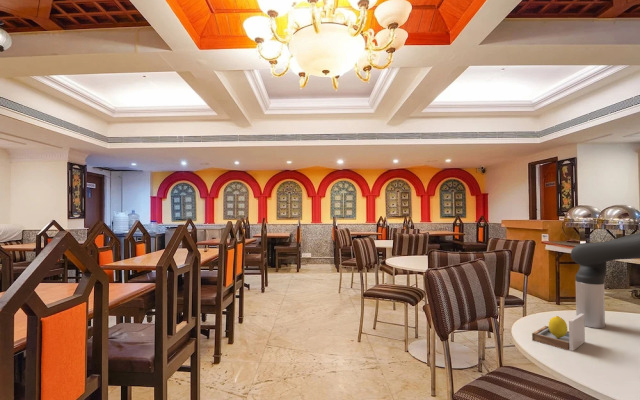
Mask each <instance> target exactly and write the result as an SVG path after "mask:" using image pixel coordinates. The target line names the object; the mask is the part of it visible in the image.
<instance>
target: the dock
mask: <svg viewBox="0 0 640 400" xmlns="http://www.w3.org/2000/svg"><path fill="white" fill-rule="evenodd" d="M547 328H549V325H548V326H547V325H545V326H543V327H541V328H539V329H538V330H535V331H534V332H532V333H531V336H532V337H531V340H532V341H534V342H538V343H541V344H545V345H550V346H552V347H555V348H558V349H559V348H560V349H563V350H565V351H570V349H569V342H566V341H562V340H558V339H554V338H550V337H547V336H543V335H539V334H538V333H540V332H542V331H543V330H545V329H547ZM567 333H569V330H567Z"/></svg>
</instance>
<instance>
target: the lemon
mask: <svg viewBox="0 0 640 400" xmlns="http://www.w3.org/2000/svg"><path fill="white" fill-rule="evenodd" d="M548 327H549V330H550V332H551V333H552V334H553V335H554V336H556V337H557V338H560V337H563V336H565V335H566V333H567V331H568V324H567V323H566V321H565V319H564V318H562V317H560V316H559V315H556V316H553V317H551V318H550V319H549V321H548Z"/></svg>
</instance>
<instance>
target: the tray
mask: <svg viewBox="0 0 640 400" xmlns="http://www.w3.org/2000/svg"><path fill="white" fill-rule="evenodd" d="M585 327H586V326H585V324H584V314H582V313H581V314H579V315H577V316H576V315H575V316H574V317H572V318H571V319H569V320H568V331H569V333H566V335H565V336H563V337H560V338H557V337H556V336H554V335H553V334H552V333H551V332H550V330H549V328H547V329H545V330H543V331H542V332H540V333H538V334H539V335H543V336H547V337H550V338H554V339H558V340H562V341H566V342H569V351H571V352H572V351H575V350H576V349H577V348H579V347H580V346H581V345H582V344H583V343H585V342H586V329H585Z"/></svg>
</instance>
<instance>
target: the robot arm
mask: <svg viewBox="0 0 640 400" xmlns="http://www.w3.org/2000/svg"><path fill="white" fill-rule="evenodd" d="M570 258H571V260H572V261H573V262H575V263H576V264H578V265H579V268H578V270H577V272H576V273H575V307H576V308H575V309H576V311H575V312H576V313H575V317H576V316H577V315H579V314H581V313H582V314H584V324H585V327H588V328H594V329H595V328H598V329H602V328H605V327H606V308H605V307H606V306H605V305H606V303H605V302H606V300H605V297H606V295H605V278H606V276H607V262H610V261H618V260H633V259H634V260H635V259H636V260H637V259H640V232H637V233H633V234H629V235H625V236H621V237H619V238H614V239H611V240H606V241H599V242H583V243H579V244H577V245H575V246H574V247H573V248H572V249H571V252H570Z"/></svg>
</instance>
